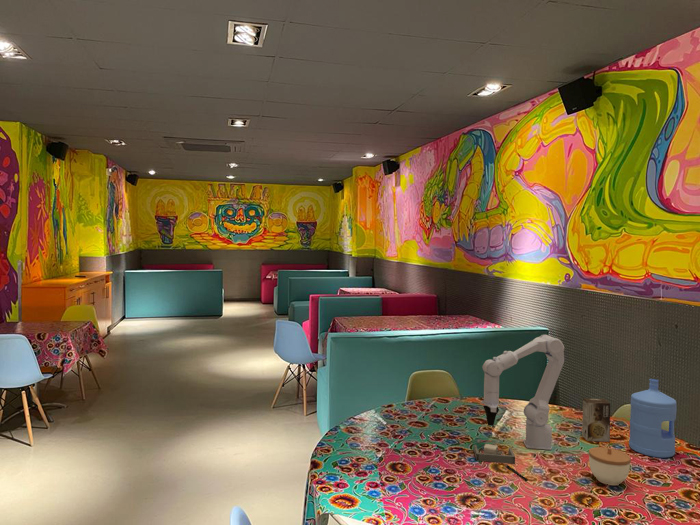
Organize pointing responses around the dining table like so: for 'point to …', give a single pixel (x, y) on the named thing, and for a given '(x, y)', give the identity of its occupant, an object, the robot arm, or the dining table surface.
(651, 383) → the water jug
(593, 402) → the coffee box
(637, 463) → the dining table surface
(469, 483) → the dining table surface
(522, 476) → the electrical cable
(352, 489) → the dining table surface
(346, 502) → the dining table surface
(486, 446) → the usb wall charger
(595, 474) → the lidded bowl
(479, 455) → the charging bay
